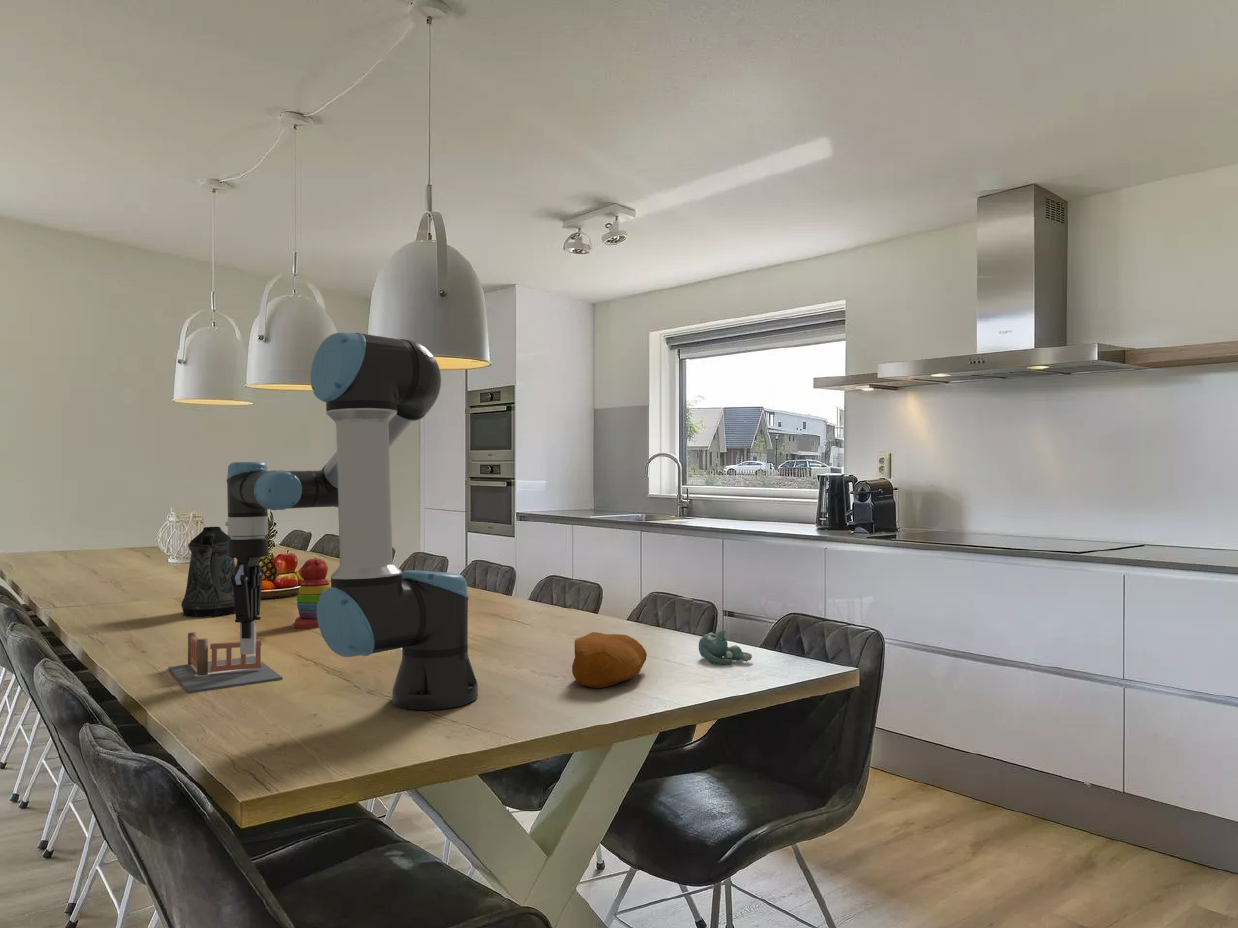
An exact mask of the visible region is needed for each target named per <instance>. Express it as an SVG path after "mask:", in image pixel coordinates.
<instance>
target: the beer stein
mask: <svg viewBox="0 0 1238 928" xmlns="http://www.w3.org/2000/svg"><path fill="white" fill-rule="evenodd" d="M229 539H231V537H229V536H228V533H225V531H224V530H222V528H221V527H220V526H205V527H203V529H202V531H201V532H200V533H199V534H198V535H196V536H195V537H193V538H192V539H191V540H190V542H188V546H187V547H188V549H189V551H190V554H191V555H190V560H189V567H188V573H187V581H186V588H185V593H184V597H183V598H182V601H181V604H180V606H181V609H182V615H183V616H184V617H188V618H217V617H223V616H224V617H225V616H226V617H227V616H231V615H236V614H235V603H234V592H233V585H232V581H231V576H232V575H235V567H236V562H235V558H230V557H228V541H229Z"/></svg>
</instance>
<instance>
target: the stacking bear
mask: <svg viewBox="0 0 1238 928" xmlns="http://www.w3.org/2000/svg"><path fill="white" fill-rule="evenodd" d="M297 572H298V575H299V576H300V577H301V578H302V579H303V580H302V581H301V582H300V586H298V587H299V588H298V594H297V596H296V606H297V609H298V610H297V611H298V615H299V616H298V617H296V618H295V620H294V623H293V629H297V630H303V629H315V628H319V625H318V620H317V603H318V601H319V597H320V595H321V594H322V592H323V591H325V590H327V589H328V588H331V583H330V581H329V580H328V579H327V578H326V577H327V575H328V572H329V568H328V564H327V562H326V561H325V560H323V559H321V558H317V557H313V558H309V559H308V560H306V561H305V562H304V564H303V565H302V566H301V567H300V568H299V569H298V571H297Z"/></svg>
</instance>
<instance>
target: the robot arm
mask: <svg viewBox="0 0 1238 928" xmlns="http://www.w3.org/2000/svg"><path fill="white" fill-rule="evenodd" d="M310 367H311V369H310V386H311V390H312V391H313V394H314V396H315V397H316V398H317V399H318V400H320V401H322V402H323V403H325V410H326V411H325V413H326V415H327V416H329V418H330V419H331V420H332V421H334V423H335V432H336V437H335V438H336V451H335V452H334V454H333V455H332V456H331V457H330V458H329V460H328V462H326V464H325V465H324V466H323V467H322V468H321V469H319V470H282V469H280V470H275V469H274V470H268V466H267V464H266V463H265V462H262V461H241V462H239V461H235V462H230V463H229V465H228V467H227V478H226V485H227V486H226V487H227V489H226V490H227V494H226V495H227V497H226V498H227V499H226V500H227V521H225V523H224V525H225V526H226V527H227V535H228V536H229V537H231V539H229V541H228V557H230V558H234V559H236V563H235V575H232V576H231V581H232V585H233V592H234V603H235V614H234V615H235V620H234V622H235V623H239V642H240V647H239V654H240V656H241V654H246V655H254V654H255V655H256V640H257V621H261V618H262V617H261V616H260V614H261V612H260V611H261V610H260V609H261V602H262V601H261V599H262V598H261V597H262V584H263V576H264V571H265V570H264V568H262V567H261V565H260V560H259V558H264V557H267V555H268V551H269V549H268V547H269V542H268V541H269V540H268V539H267V538H266V536H267V535H269V527H268V526H269V521H268V520H269V519H268V514H269V513H268V510H271V511H278V510H279V511H283V510H287V509H305V508H306V509H307V508H309V509H310V508H333V507H334V508H337V509H338V513H337V514H338V539H339V541H338V546H339V547H338V548H339V565H338V567H337V569H336V570H335V571H334V572H333V573H332V574H331V575H330V584H331V588H328V589H327V590H325V591H323V592H322V594H321V595H320V597H319V601H318V603H317V620H318V625H319V627H318V629H319V631H320V634H321V636H322V639H323V641H325V643H326V645H327V646H328V648H329V649H330V650H331V651H332V652H334V654H336V655H338V656H340V657H342V658H343V657H344V658H352V657H359V656H361V657H368V656H370V655H372V654H378V653H382V652H388V651H393V650H398V649H402V651H401V652H402V655H401V656H402V657H401V661H400V664H399V667H398V671H397V674H396V677H395V681H394V683H393V687H392V691H391V692H392V695H391V697H392V704H393V705H395V706H396V707H399V708H402V709H408V710H419V711H420V710H421V711H432V710H433V711H434V710H435V711H436V710H445V709H453V708H457V707H461V706H465V705H467V704H471V703H472V702H474V701H475V700H478V696H479V694H478V693H479V686H478V685H479V684H478V680H477V679H476V676H475V673H474V670H473V666H472V663H471V660H470V657H469V647H468V646H469V644H468V643H469V641H468V640H469V639H468V637H469V634H468V632H469V630H468V626H469V625H468V623H469V622H468V619H469V618H468V615H469V614H468V609H469V607H468V606H469V602H468V601H469V595H468V593H469V592H468V584H467V580H466V578H465V576H463V575H462V574H460V573H459V574H458V573H452V572H445V571H443V572H442V571H434V570H433V571H431V570H430V571H429V570H417V569H416V570H414V569H409V570H408V569H407V570H403V571H402V570H401V569H400V568H399V567H398V566H397V565H395V564H394V561H393V533H392V532H393V531H392V529H393V528H392V527H393V526H392V500H391V497H392V494H391V467H390V466H391V465H390V462H391V460H390V448H391V447H392V445H393V444H394V443H395V442H396V441H397V440H398V439H399V438H400V436H401V435H403V433H404V431H406V430H407V428H408V427H409V426H410V425H411V424H412V423H413V422H417V421H420V420H422V419H423V418H425V416H426V415H427V414H428V412H429V411H430V410H431V409H432V408H433V406H434V405H435V403H436V401H437V399H438V397H439V394H440V391H441V386H442V376H441V370H440V366H439V364H438V362H437V360H436V358H435V356H434V355H433V354H432V352H431V351H429V350H428V348H426V347H425V346H424V345H422V344H421V343H418V342H416V341H413V340H411V339H405V338H404V339H403V338H402V339H401V338H393V337H386V336H380V335H374V334H373V335H372V334H367V333H360V332H335V333H332V334H331V335H329V336H327V337H326V338H324V339H323V341H322V342H321V343H320V344H319V346H318V348H317V350H316V351H315V354H314V357H313V360H312V363H311V366H310Z"/></svg>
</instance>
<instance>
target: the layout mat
mask: <svg viewBox="0 0 1238 928" xmlns="http://www.w3.org/2000/svg"><path fill="white" fill-rule="evenodd" d="M254 662H256V655H250V656H246V663H254ZM261 662H262V667H261V668H252V669H239V670H226V671H213V672H210V667H211V666H212V660H211V661H208V674H207V675H203V676H198V675H197V669H196V668H195V667H194V666H193V665H188V663H187V664H179V665H174V666H173V665H172V666H168V670H169V671H170V672H171V674H172V675H173V676H174V677H175V679H176V680H177V681H178V683H179V684H180V685H181V686H182V687H183V688H184V690H185V692H187V693H189V694H190V693H191V694H192V693H196V692H203V691H210V690H218V689H225V688H231V687H232V688H233V687H239V686H244V685H252V684H260V683H266V682H273V681H274V682H275V681H280V680H283V679H284V678H283V676H282V675H280V674H279V673H278V672H276V671H275V670H274V669H272V668H271V667H270V666H268V665H267V664H266V663H264V662H263V661H262V660H261ZM240 663H241V657H235V658H232V664H240ZM217 665H226V659H220V660H218V659H217Z"/></svg>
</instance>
